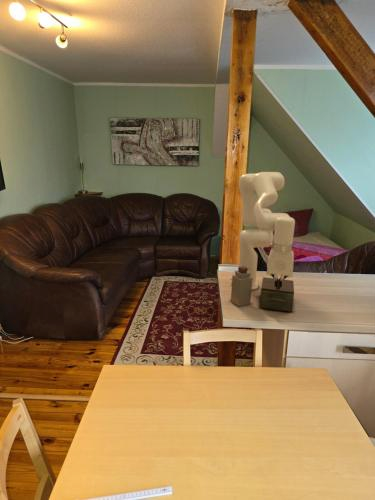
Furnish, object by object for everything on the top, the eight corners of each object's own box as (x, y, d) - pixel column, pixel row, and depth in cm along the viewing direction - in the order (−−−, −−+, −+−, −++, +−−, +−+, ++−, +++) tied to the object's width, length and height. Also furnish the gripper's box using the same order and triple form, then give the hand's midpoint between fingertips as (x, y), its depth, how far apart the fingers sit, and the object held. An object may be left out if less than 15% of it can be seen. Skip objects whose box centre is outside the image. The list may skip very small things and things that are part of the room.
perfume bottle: (238, 306, 157) (241, 270, 152) (230, 301, 163) (232, 266, 158) (250, 304, 160) (253, 268, 155) (241, 298, 166) (244, 264, 161)
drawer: (290, 316, 147) (293, 299, 145) (260, 312, 150) (261, 295, 148) (290, 299, 164) (292, 283, 162) (262, 296, 167) (263, 280, 165)
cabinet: (291, 312, 153) (294, 291, 150) (259, 307, 156) (261, 288, 153) (291, 299, 166) (293, 280, 163) (261, 295, 170) (263, 277, 167)
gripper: (263, 247, 134) (259, 289, 139) (302, 251, 130) (296, 294, 136) (264, 243, 141) (260, 283, 146) (301, 246, 137) (295, 287, 143)
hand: (277, 288), depth 141 cm, fingers closed
